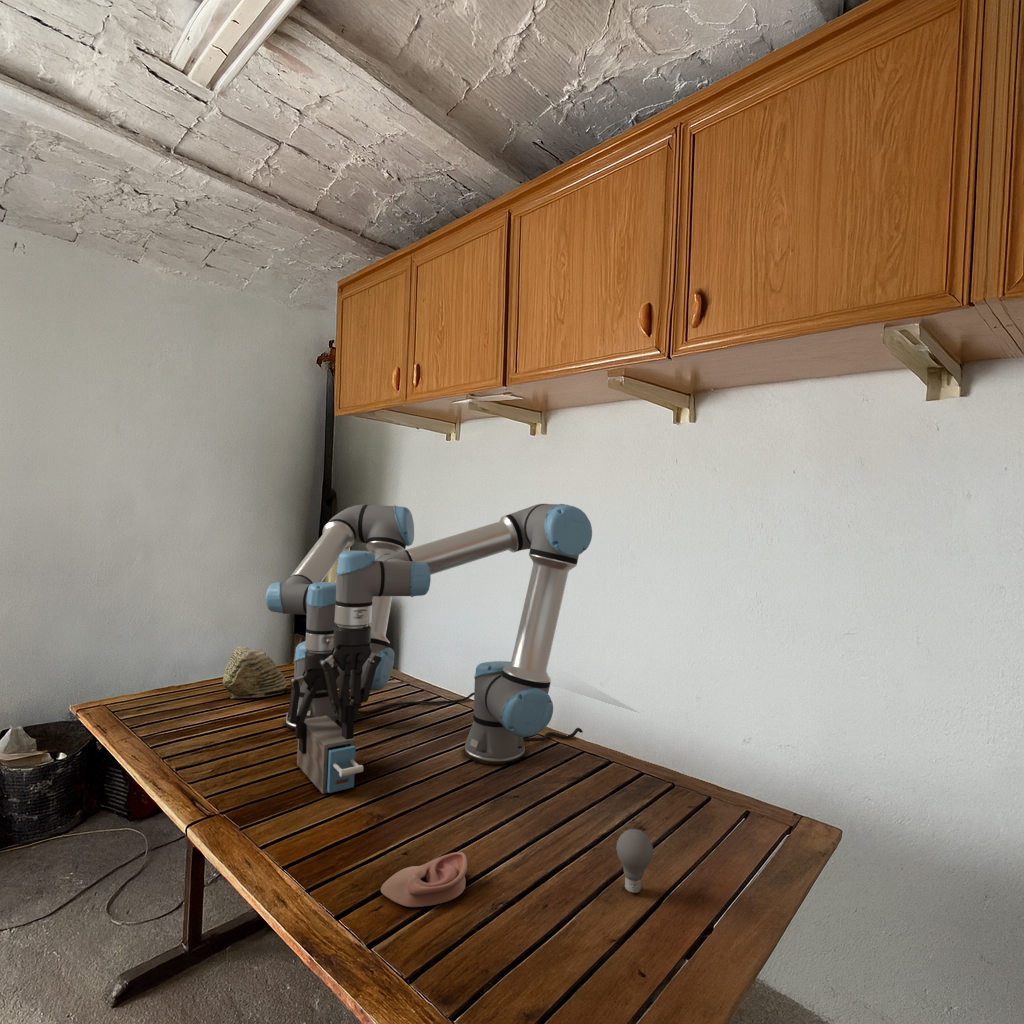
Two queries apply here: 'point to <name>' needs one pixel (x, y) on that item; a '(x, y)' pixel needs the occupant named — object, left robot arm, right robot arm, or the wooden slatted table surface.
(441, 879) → the anatomical model
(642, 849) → the light bulb
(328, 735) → the cabinet
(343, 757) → the drawer
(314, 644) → the left robot arm
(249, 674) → the fossil
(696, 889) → the wooden slatted table surface
